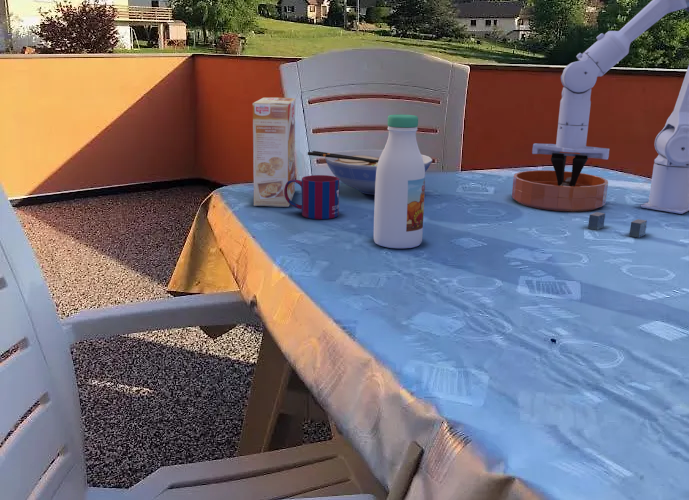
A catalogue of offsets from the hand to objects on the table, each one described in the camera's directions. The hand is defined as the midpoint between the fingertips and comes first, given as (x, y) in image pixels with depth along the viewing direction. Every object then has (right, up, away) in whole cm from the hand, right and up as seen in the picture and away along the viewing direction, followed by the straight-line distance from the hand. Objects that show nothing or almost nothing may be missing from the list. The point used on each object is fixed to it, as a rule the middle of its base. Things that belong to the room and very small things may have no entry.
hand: (565, 191), depth 144 cm
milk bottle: (-36, -11, -31) cm, 49 cm away
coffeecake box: (-59, -2, -1) cm, 59 cm away
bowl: (-1, -2, +1) cm, 3 cm away
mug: (-51, -5, -14) cm, 53 cm away
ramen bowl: (-38, 0, +7) cm, 39 cm away
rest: (+2, -9, -22) cm, 23 cm away
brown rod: (0, +1, 0) cm, 1 cm away
